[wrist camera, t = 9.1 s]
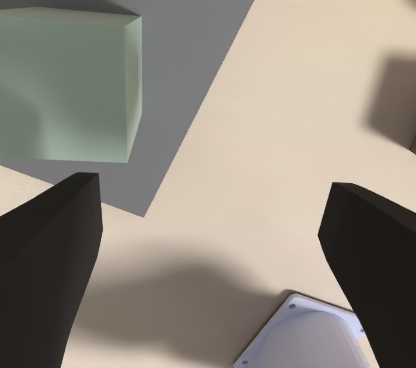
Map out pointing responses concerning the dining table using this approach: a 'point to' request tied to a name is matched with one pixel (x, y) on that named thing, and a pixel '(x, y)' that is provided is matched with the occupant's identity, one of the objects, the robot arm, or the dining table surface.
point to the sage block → (69, 84)
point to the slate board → (152, 90)
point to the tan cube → (413, 146)
